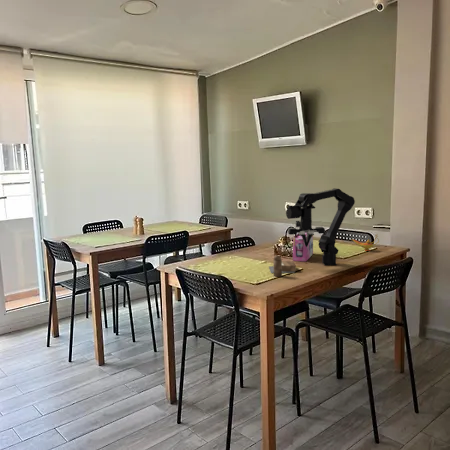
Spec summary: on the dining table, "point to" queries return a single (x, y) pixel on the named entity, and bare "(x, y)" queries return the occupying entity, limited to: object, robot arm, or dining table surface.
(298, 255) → the gum box
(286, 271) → the mat
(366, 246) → the magic lamp
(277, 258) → the pepper mill
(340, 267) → the dining table surface
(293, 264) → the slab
